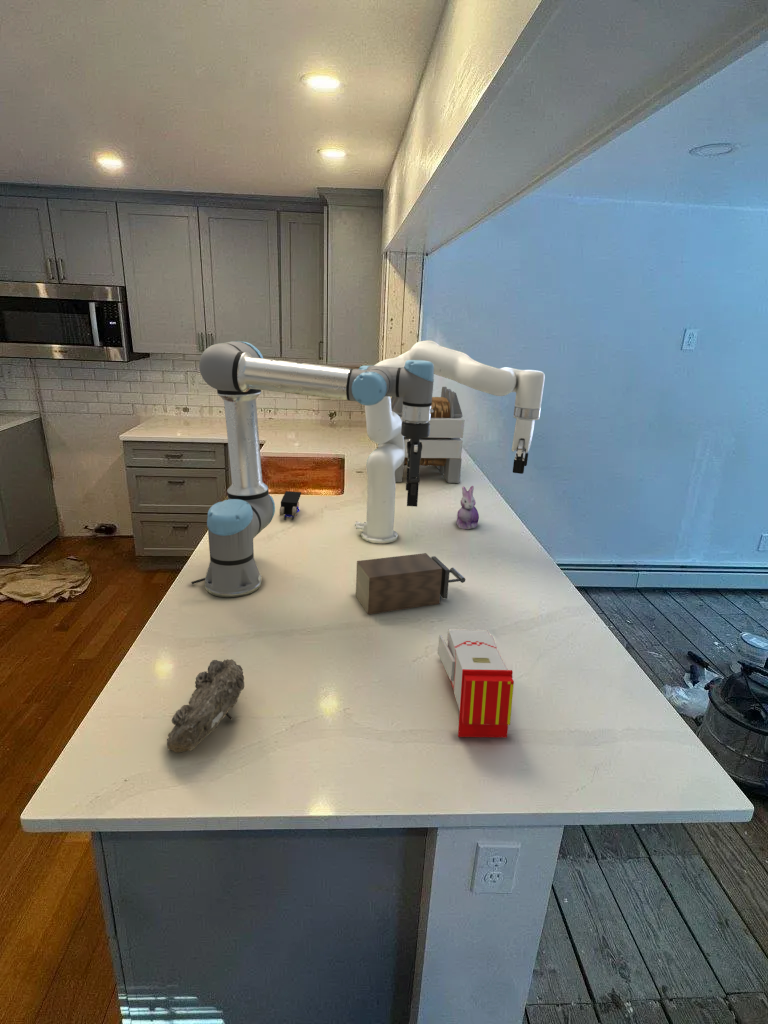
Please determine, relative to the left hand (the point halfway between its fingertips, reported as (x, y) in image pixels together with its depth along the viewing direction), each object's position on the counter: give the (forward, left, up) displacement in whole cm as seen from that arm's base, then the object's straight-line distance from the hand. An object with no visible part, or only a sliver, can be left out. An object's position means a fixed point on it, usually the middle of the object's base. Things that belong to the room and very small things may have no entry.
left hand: (411, 497), depth 156 cm
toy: (+17, -48, -26) cm, 57 cm away
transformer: (-2, +117, -26) cm, 120 cm away
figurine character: (-47, +46, -26) cm, 71 cm away
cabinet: (-2, -11, -26) cm, 28 cm away
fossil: (-33, -64, -26) cm, 76 cm away
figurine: (+19, +50, -26) cm, 60 cm away
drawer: (+4, -8, -25) cm, 27 cm away
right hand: (+32, +23, +4) cm, 39 cm away
